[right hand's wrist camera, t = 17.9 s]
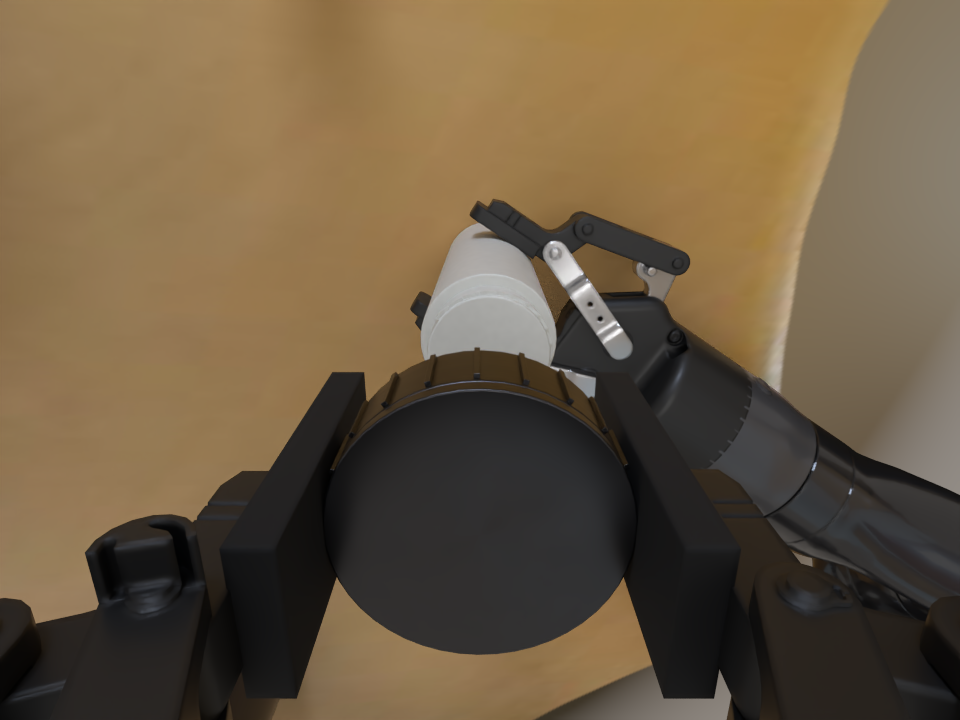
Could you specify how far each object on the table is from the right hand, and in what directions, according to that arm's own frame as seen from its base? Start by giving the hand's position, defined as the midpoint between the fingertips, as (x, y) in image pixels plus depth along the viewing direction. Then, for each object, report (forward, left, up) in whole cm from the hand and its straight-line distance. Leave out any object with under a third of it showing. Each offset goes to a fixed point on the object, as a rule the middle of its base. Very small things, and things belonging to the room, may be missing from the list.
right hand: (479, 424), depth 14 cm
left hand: (-1, +2, -17) cm, 17 cm away
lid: (0, 0, +4) cm, 4 cm away
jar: (0, 0, -23) cm, 23 cm away
